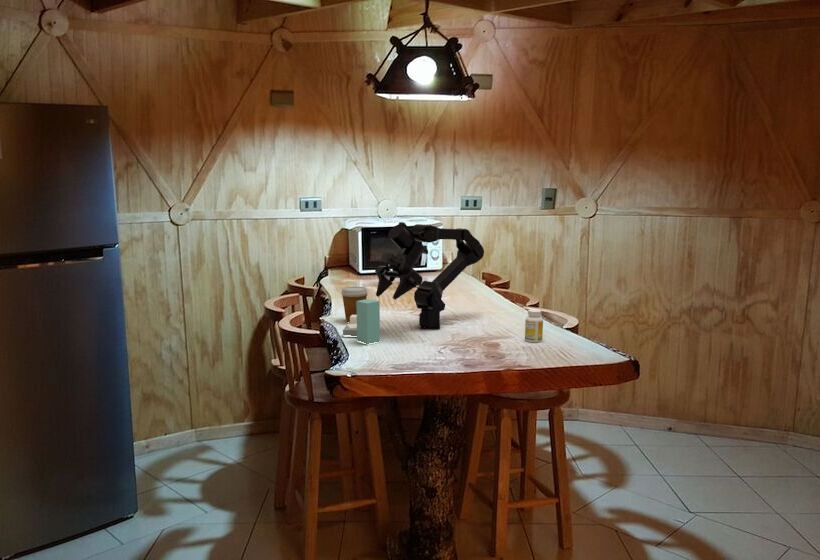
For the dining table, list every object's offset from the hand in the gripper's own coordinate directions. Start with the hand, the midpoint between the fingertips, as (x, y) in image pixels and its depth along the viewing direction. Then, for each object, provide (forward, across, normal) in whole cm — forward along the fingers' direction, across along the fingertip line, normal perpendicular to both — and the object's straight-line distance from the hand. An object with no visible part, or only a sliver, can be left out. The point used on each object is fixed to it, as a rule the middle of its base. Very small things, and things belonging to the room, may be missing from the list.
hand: (385, 297), depth 197 cm
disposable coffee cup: (+6, -25, +11) cm, 28 cm away
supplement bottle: (-10, +31, +35) cm, 48 cm away
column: (+15, +1, +2) cm, 15 cm away
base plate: (+12, -11, +5) cm, 17 cm away
